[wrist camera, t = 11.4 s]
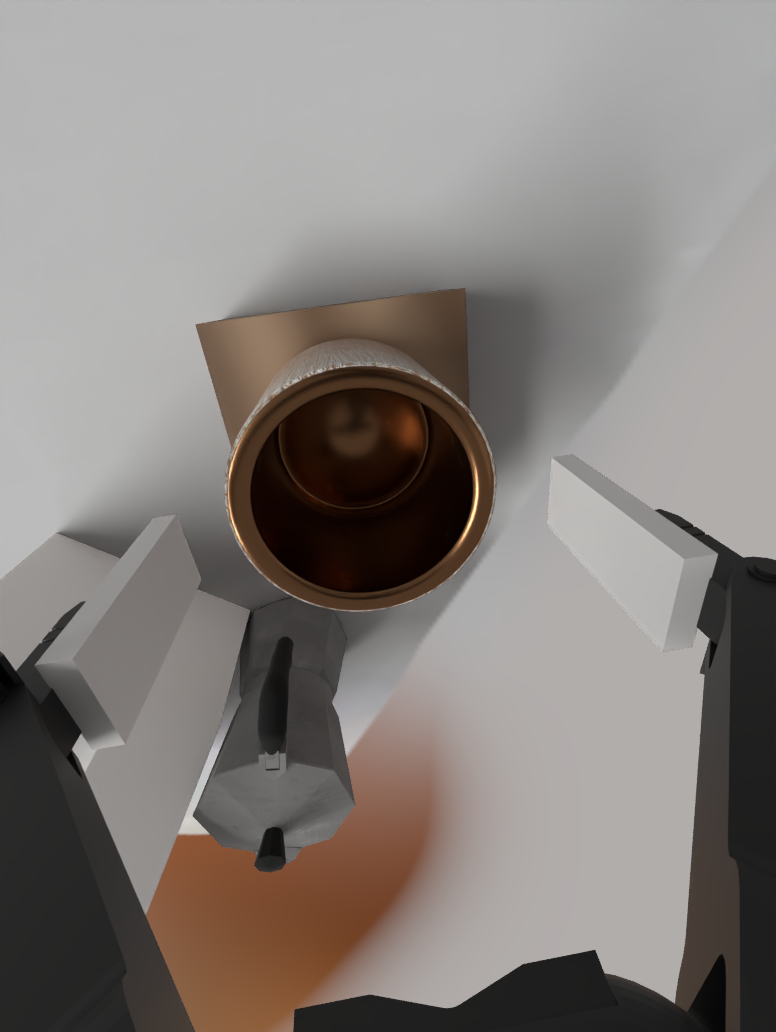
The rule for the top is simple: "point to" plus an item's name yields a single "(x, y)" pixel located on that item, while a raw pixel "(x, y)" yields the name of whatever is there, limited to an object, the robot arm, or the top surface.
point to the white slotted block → (164, 716)
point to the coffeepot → (282, 739)
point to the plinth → (283, 335)
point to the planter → (359, 479)
